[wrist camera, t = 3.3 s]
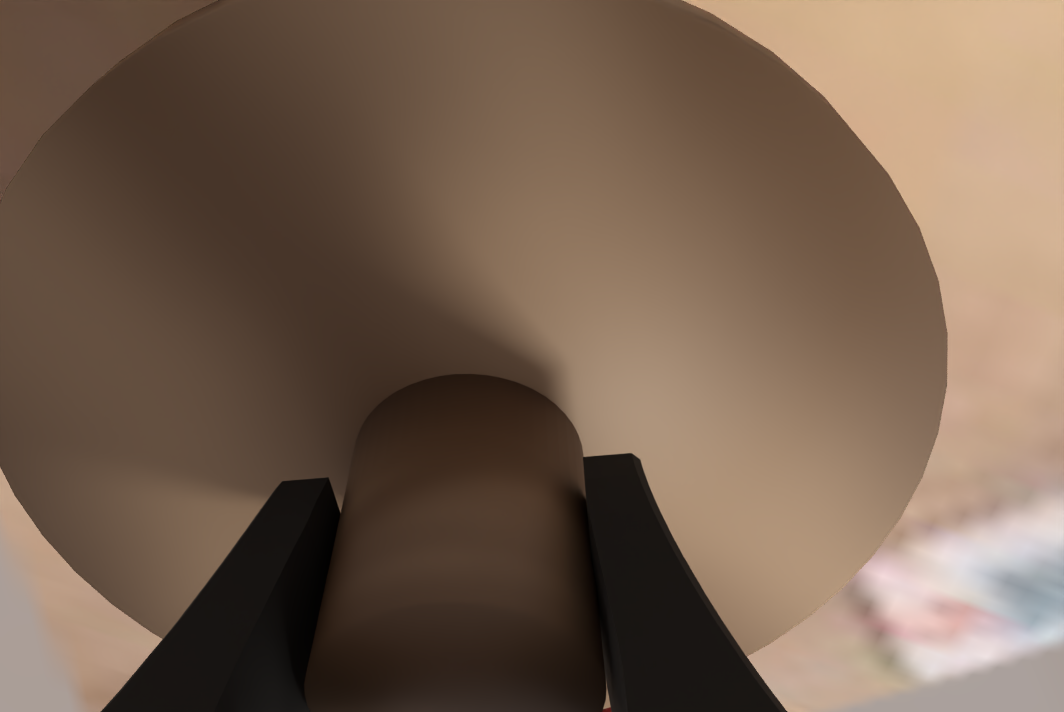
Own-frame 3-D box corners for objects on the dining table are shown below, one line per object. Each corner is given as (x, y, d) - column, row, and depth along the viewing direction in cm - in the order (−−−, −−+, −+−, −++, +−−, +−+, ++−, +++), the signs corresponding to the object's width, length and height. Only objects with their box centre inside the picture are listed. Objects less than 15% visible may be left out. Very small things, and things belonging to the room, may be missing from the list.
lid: (489, -394, 7) (468, -499, 4) (1074, 445, 13) (1280, 709, 10) (-176, 407, 12) (-453, 683, 9) (464, 758, 18) (453, 1010, 15)
